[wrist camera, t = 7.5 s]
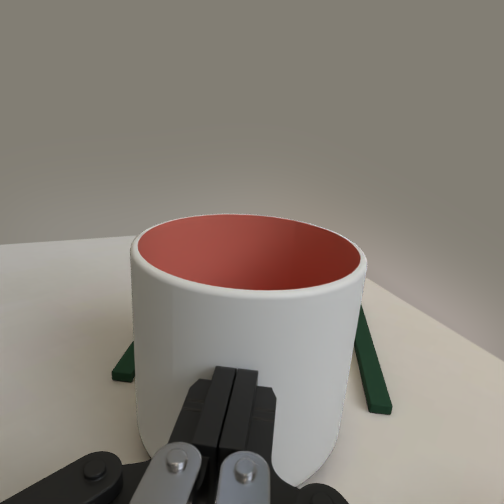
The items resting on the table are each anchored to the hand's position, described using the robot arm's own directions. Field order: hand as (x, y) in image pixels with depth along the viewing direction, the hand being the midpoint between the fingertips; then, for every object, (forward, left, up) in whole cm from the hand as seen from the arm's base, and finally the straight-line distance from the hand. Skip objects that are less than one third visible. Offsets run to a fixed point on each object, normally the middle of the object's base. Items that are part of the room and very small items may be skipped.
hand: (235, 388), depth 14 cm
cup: (0, +5, -7) cm, 8 cm away
